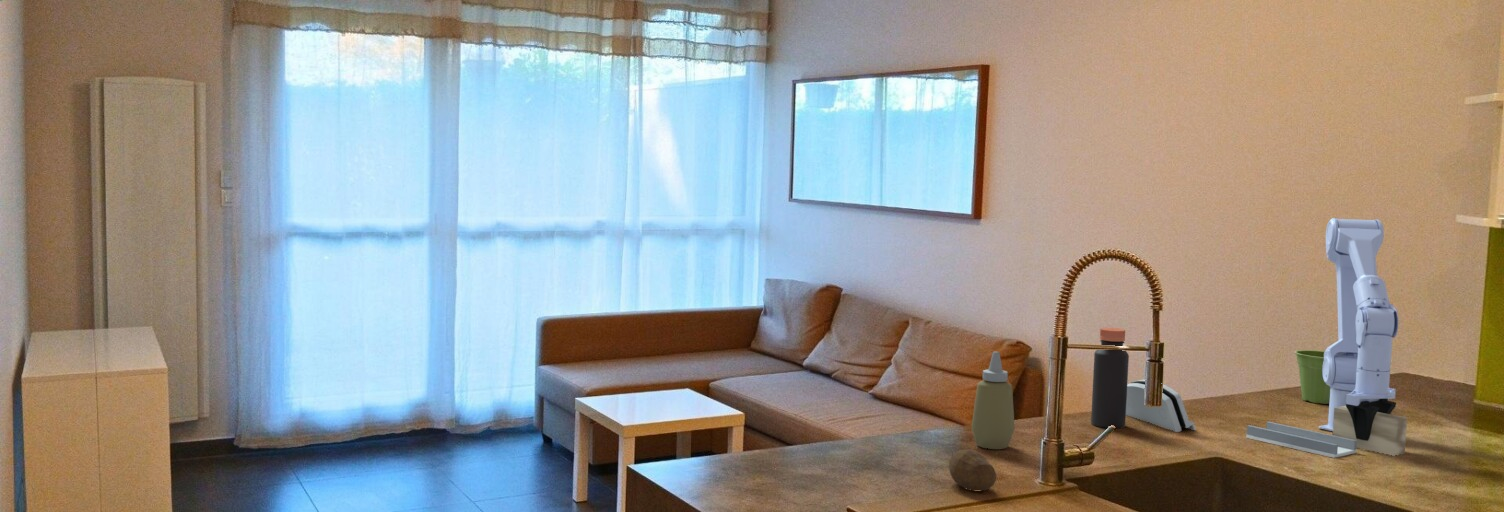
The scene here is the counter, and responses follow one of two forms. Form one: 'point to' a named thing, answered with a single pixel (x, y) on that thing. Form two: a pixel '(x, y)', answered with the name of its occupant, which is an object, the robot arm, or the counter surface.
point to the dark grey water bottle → (1110, 381)
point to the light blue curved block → (1158, 408)
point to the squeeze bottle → (993, 408)
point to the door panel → (1374, 431)
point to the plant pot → (1312, 376)
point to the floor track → (1303, 439)
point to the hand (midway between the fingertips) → (1368, 438)
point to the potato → (972, 470)
